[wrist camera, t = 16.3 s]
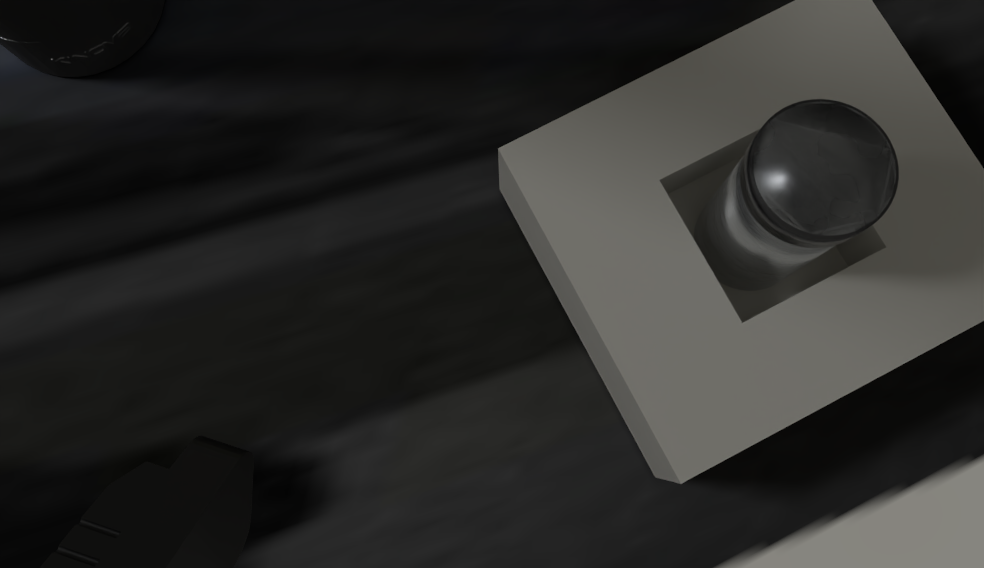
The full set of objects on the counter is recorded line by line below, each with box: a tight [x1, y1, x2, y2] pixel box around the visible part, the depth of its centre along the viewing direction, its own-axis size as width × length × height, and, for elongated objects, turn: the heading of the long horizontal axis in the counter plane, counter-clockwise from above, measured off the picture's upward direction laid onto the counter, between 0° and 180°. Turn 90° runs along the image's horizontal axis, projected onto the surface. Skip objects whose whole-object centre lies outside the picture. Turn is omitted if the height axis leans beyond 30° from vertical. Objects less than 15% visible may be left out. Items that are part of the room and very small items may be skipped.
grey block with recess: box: [498, 0, 984, 484], centre depth 38 cm, size 16×18×6 cm
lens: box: [694, 99, 899, 291], centre depth 34 cm, size 5×5×10 cm
